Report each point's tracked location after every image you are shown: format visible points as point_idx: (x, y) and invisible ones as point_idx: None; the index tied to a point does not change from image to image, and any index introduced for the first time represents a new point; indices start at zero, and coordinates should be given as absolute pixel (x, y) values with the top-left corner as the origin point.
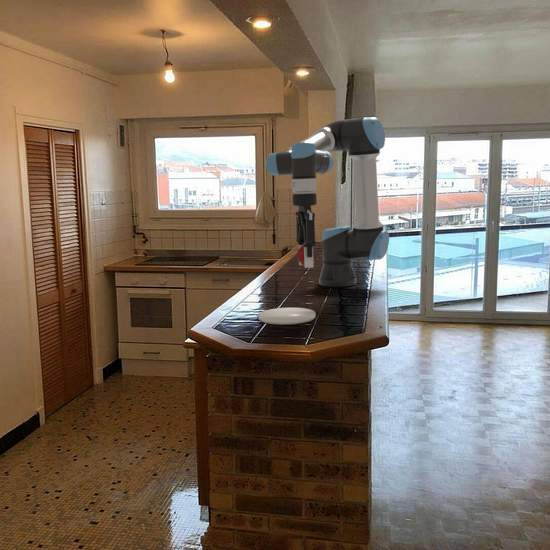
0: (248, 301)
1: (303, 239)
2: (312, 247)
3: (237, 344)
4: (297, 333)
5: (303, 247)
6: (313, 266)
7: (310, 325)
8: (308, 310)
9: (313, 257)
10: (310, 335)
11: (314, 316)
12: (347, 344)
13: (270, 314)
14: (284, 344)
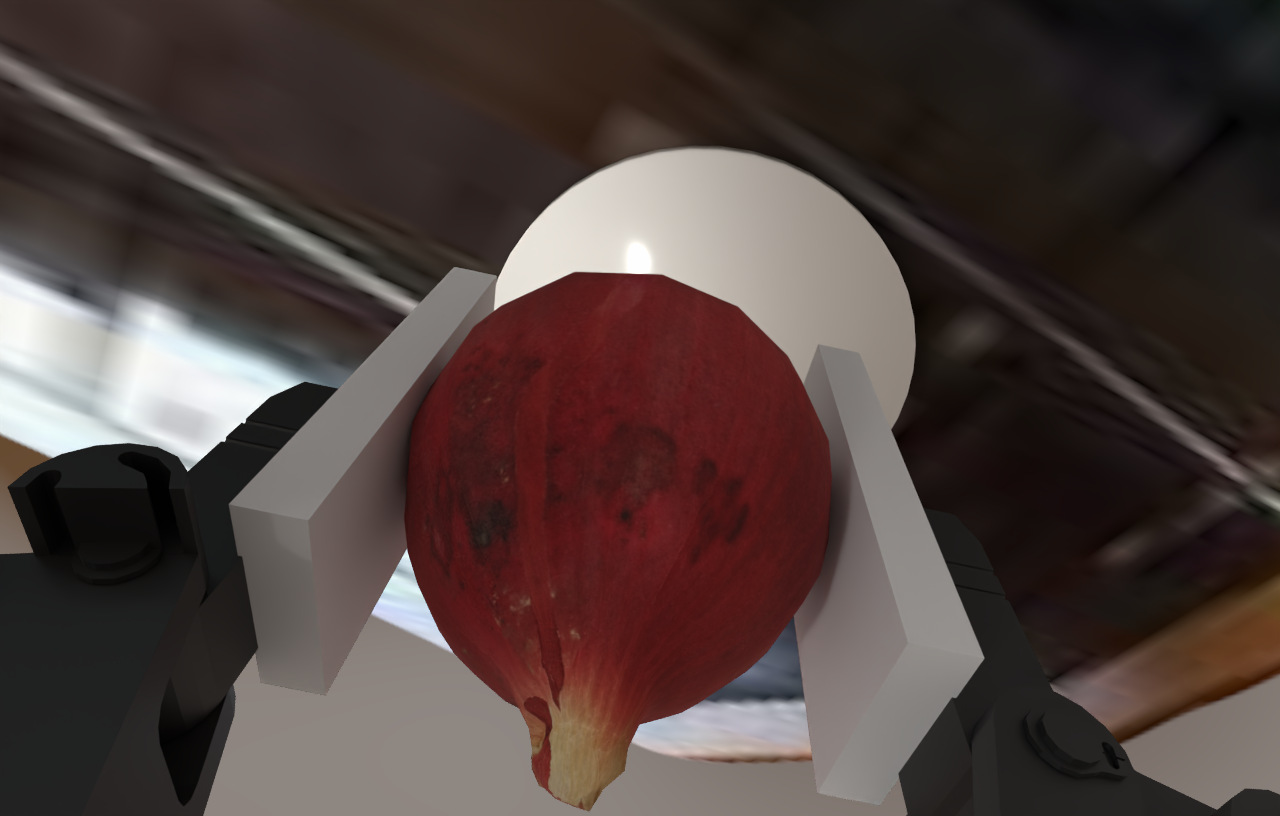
0: (62, 360)
1: (164, 764)
2: (965, 651)
3: None
4: (1104, 481)
5: (663, 716)
6: (862, 361)
7: (1010, 335)
8: (692, 185)
9: (808, 397)
10: (1213, 447)
11: (863, 217)
12: None
13: None
14: (1218, 610)
